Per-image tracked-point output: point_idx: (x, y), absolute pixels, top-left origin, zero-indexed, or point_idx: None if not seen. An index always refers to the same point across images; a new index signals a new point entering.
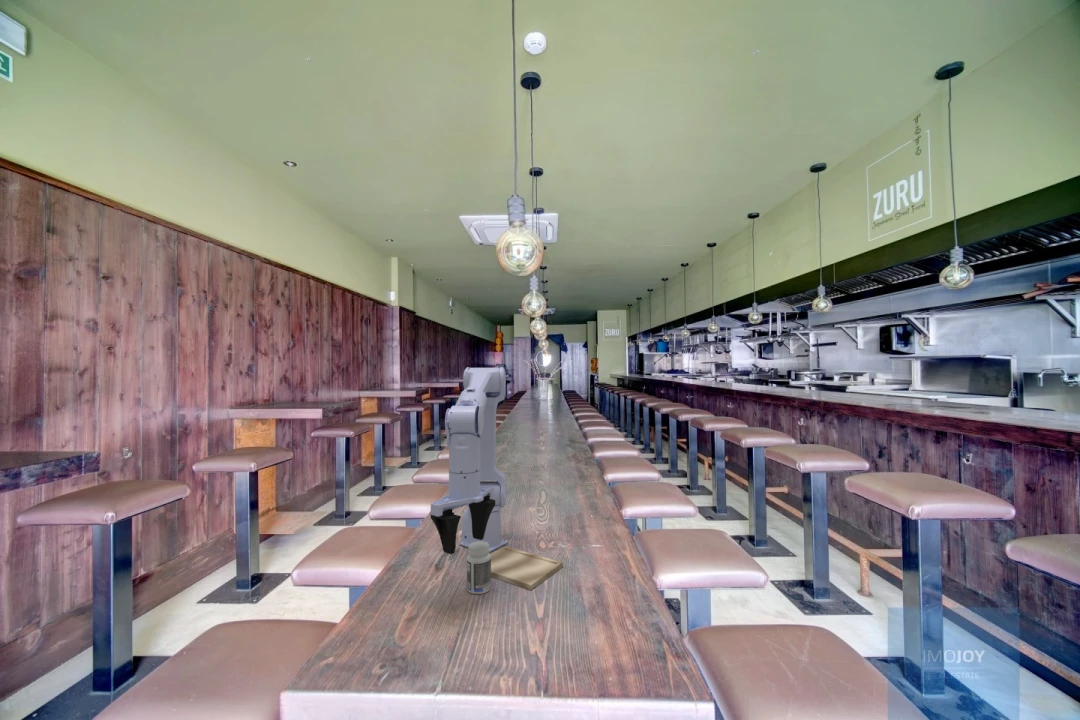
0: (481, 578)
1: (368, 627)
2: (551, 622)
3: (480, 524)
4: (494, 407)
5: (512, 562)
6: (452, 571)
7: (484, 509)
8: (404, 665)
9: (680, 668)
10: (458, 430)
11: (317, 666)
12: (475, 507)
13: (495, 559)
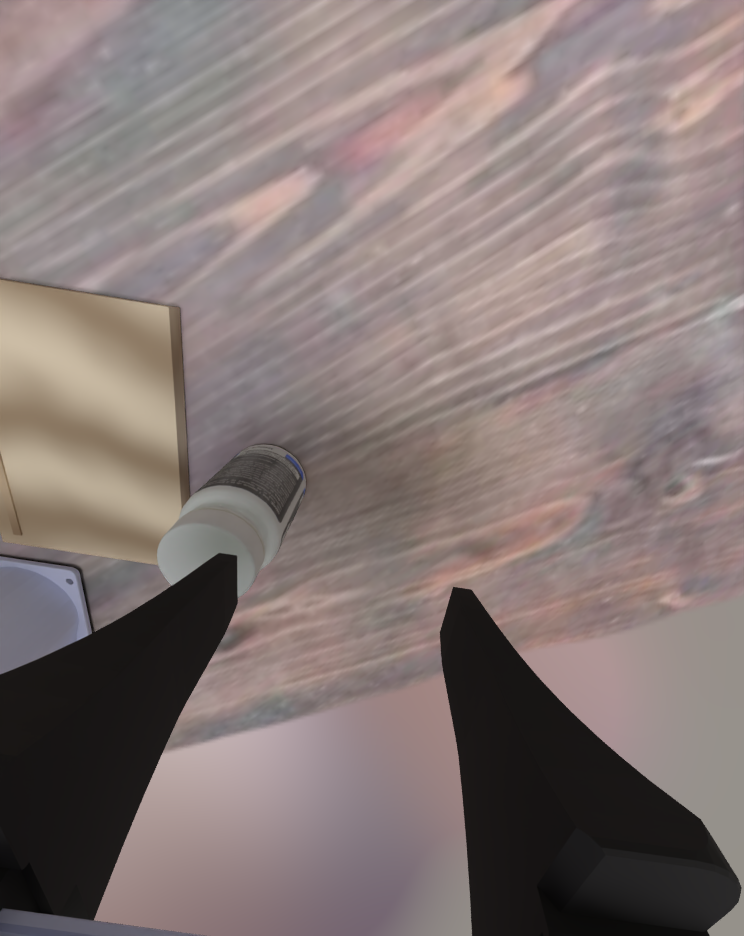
0: (279, 473)
1: (544, 608)
2: (323, 106)
3: (187, 632)
4: None
5: (78, 460)
6: None
7: (87, 734)
8: (663, 445)
9: None
10: None
11: (695, 603)
12: (106, 810)
13: (103, 521)
